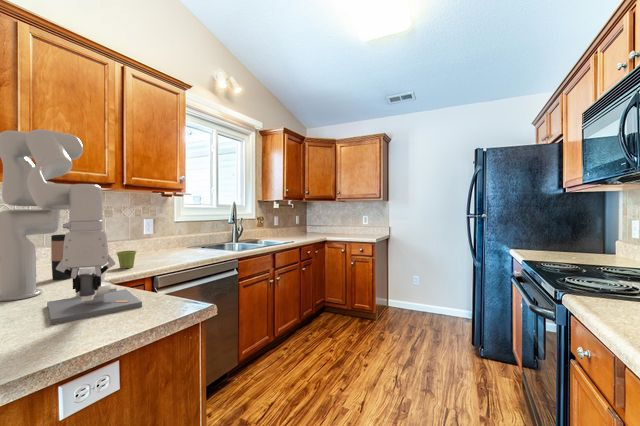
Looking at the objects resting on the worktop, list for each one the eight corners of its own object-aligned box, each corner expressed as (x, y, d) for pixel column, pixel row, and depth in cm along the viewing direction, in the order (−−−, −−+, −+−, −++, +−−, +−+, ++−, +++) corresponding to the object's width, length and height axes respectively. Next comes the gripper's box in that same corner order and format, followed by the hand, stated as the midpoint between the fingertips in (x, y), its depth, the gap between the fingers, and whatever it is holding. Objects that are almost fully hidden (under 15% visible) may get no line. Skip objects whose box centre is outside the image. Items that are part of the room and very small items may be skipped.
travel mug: (48, 279, 137) (47, 235, 136) (68, 276, 143) (68, 234, 143) (56, 281, 133) (55, 235, 133) (76, 277, 140) (76, 234, 140)
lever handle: (80, 290, 101) (80, 265, 101) (118, 286, 106) (117, 262, 106) (66, 307, 84) (65, 277, 84) (111, 301, 89) (111, 272, 89)
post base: (47, 306, 98) (47, 294, 98) (126, 293, 114) (125, 282, 113) (51, 324, 82) (50, 310, 82) (141, 306, 98) (141, 294, 98)
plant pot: (127, 269, 158) (127, 253, 158) (111, 269, 160) (111, 252, 160) (140, 266, 167) (140, 250, 167) (125, 265, 169) (125, 250, 169)
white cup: (74, 297, 109) (74, 269, 109) (85, 291, 116) (85, 265, 116) (100, 295, 111) (99, 268, 111) (108, 289, 119) (108, 264, 118)
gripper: (44, 228, 80) (45, 298, 80) (120, 226, 88) (121, 289, 88) (51, 227, 86) (52, 291, 86) (121, 225, 95) (122, 283, 95)
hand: (87, 289), depth 87 cm, fingers closed on lever handle, 3 cm apart
